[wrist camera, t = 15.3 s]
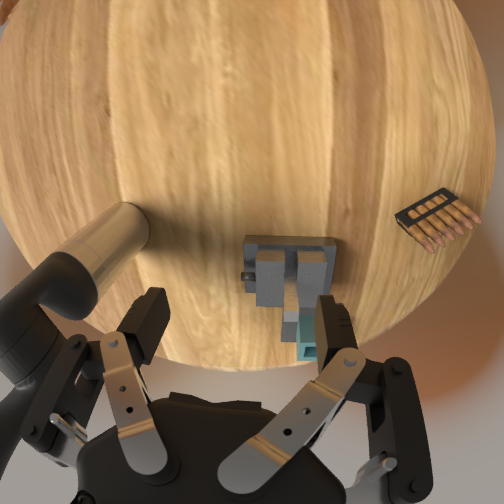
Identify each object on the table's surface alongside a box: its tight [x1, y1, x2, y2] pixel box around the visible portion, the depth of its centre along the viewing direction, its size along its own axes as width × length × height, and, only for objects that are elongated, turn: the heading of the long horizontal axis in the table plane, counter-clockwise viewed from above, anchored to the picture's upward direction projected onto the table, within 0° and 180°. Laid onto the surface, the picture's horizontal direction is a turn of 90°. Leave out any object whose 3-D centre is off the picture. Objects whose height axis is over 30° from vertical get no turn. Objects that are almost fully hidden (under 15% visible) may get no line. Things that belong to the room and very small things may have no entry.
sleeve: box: [296, 315, 317, 361], centre depth 47 cm, size 5×5×7 cm
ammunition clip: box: [395, 188, 482, 253], centre depth 32 cm, size 11×2×12 cm, turn 123°
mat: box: [281, 303, 342, 342], centre depth 51 cm, size 11×10×1 cm
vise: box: [241, 235, 337, 322], centre depth 39 cm, size 14×9×14 cm, turn 91°
